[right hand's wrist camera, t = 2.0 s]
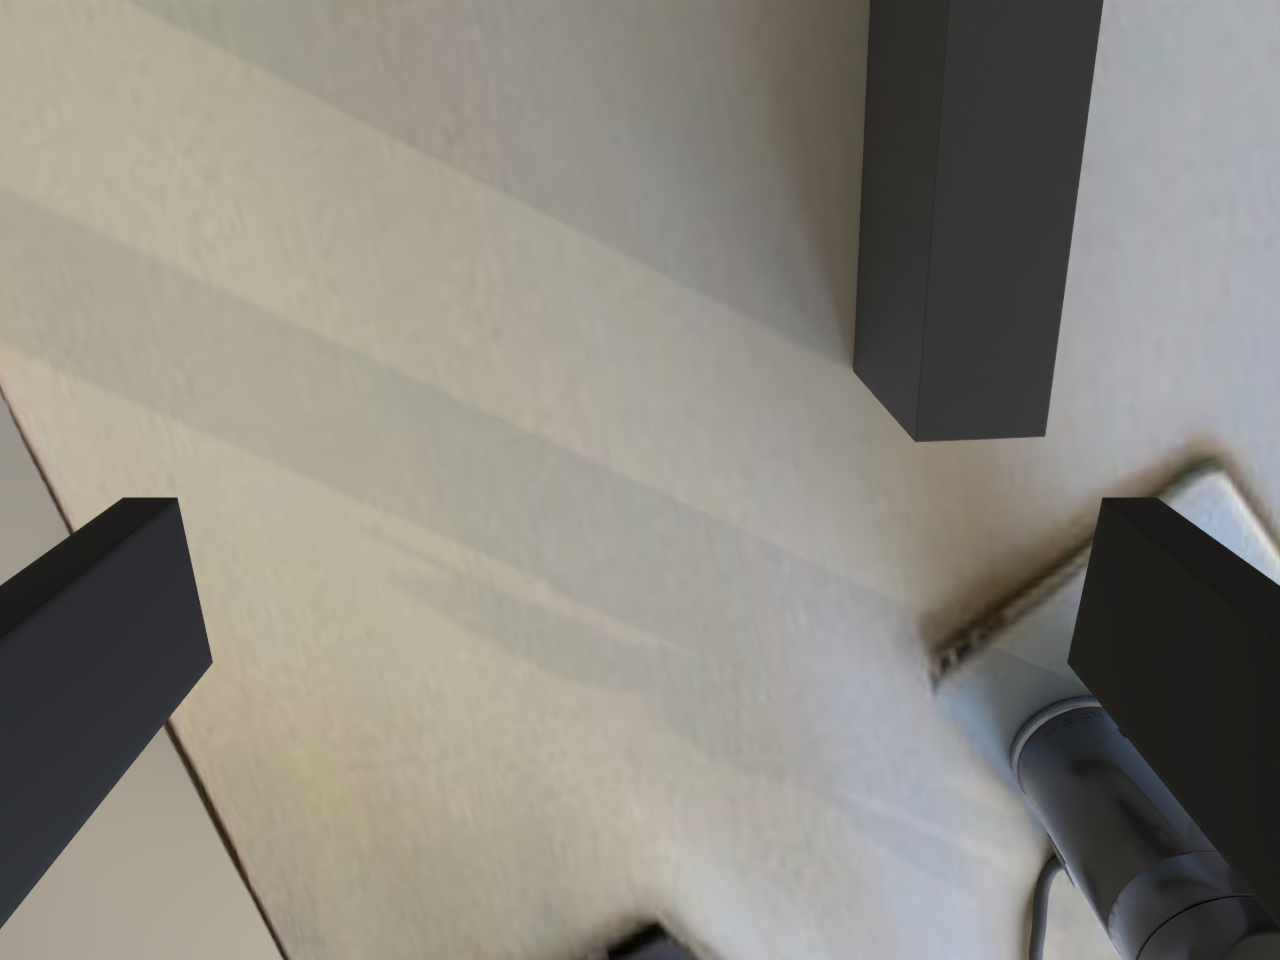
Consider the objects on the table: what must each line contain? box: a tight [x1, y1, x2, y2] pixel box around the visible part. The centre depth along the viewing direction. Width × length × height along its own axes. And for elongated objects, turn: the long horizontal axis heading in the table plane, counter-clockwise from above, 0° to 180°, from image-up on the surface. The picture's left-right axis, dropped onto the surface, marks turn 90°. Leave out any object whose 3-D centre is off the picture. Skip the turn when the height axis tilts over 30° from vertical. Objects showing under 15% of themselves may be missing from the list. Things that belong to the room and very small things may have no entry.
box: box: [853, 0, 1103, 442], centre depth 42 cm, size 26×6×13 cm, turn 3°
